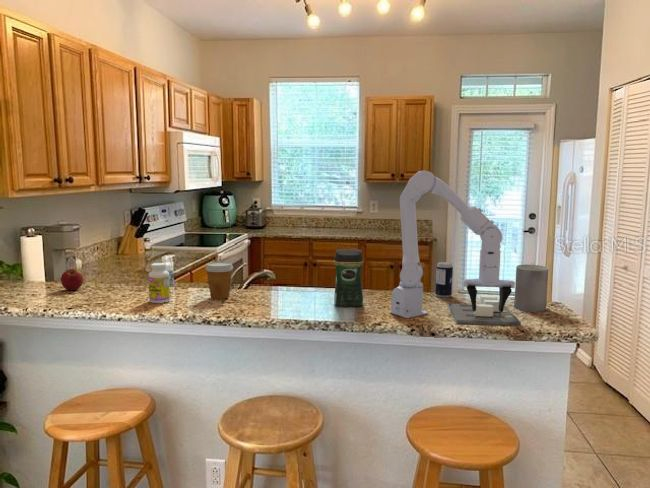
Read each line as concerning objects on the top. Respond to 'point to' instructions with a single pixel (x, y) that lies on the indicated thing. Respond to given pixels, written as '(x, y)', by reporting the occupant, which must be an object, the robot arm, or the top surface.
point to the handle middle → (493, 304)
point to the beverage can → (444, 279)
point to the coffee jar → (348, 278)
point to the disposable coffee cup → (219, 279)
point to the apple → (72, 279)
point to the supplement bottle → (159, 283)
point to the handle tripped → (484, 310)
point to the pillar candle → (531, 288)
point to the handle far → (486, 298)
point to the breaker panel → (467, 316)
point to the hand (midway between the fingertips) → (487, 310)
